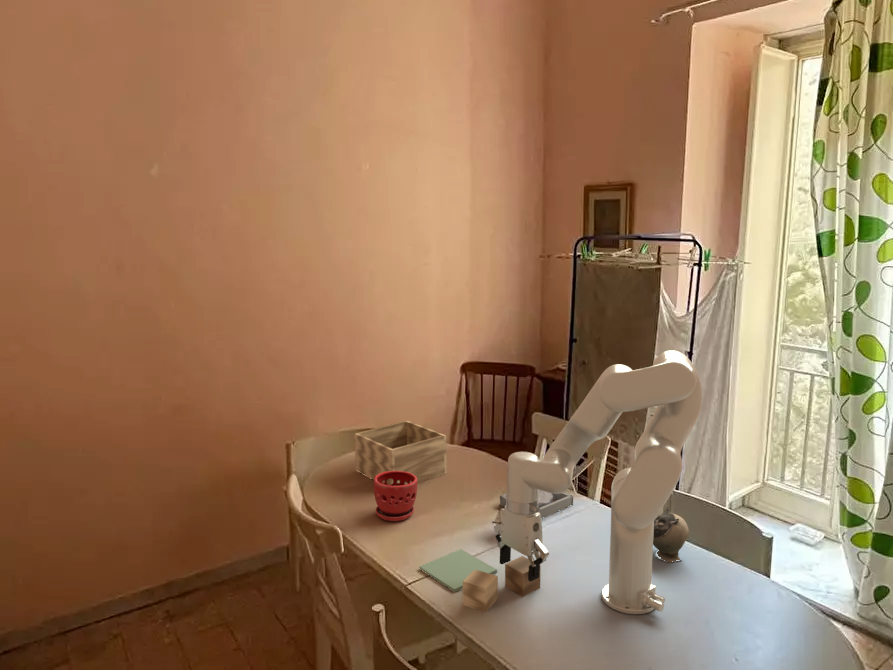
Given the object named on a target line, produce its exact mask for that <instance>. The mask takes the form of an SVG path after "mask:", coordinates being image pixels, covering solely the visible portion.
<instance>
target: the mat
mask: <svg viewBox="0 0 893 670" xmlns="http://www.w3.org/2000/svg"><path fill="white" fill-rule="evenodd" d="M419 568H420V569H421V570H423V571H424V572H426V573H427V574H429V575H430V576H432V577H433V578H435V579H436V580H437V581H436V580H435V579H434V580H435V581H436V582H438V581H439V582H440V583H439V582H438V583H439V584H441V583H442V584H441V585H443V586H444V585H445V587H446V586H447V587H448V589H449V590H450V589H451V590H450V591H452V592H453V591H454V593H456V592H458V590H459V591H460V590H463V589H462V588H463V581H464V580H465V579H466V578H467V577H468V576H469V575H470V574H471V573H472V572H473V571H474V570H478V571H482V572H485V573H489V574H492V575H495V574H497V573H498V569H497V568H495V567H493V566H491V565H490V564H488V563H486V562H484V561H483V560H481V559H479V558H478V557H476V556H474V555H472V554H471V553H469V552H467V551H466V550H463V549H462V548H460V549H457V550H455V551H453V552H451V553H448V554H445V555H443V556H441V557H438V558H436V559H434V560H431V561H429V562H426V563H425V564H422V565H420V566H419ZM420 569H419V570H420ZM421 570H420V571H421ZM423 571H422V572H423ZM424 572H423V573H424ZM426 573H425V574H426ZM427 574H426V575H427ZM429 575H428V576H429ZM430 576H429V577H430ZM432 577H431V578H432ZM433 578H432V579H433ZM447 587H446V588H447Z"/></svg>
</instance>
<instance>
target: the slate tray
mask: <svg viewBox="0 0 893 670" xmlns="http://www.w3.org/2000/svg"><path fill="white" fill-rule="evenodd" d="M506 494H507V492H506V493H504V494H502V495H500V496H499V506H502V507H503V506H504V507H503V508H505V506H506ZM551 494H552V493H551ZM552 495H553V500H555V501H553V502H552V503H550V504H548V505H545V506H543V507H540V511H539V513H540V516H541V518H542V519H544V518H547V517H548V515H549V516H550V514H551V515H553V514H556V513H558V512H560V511H563V510H565V509H567V508H569V507H568V506H570V505H572V506H574V495H572V494H569V493H567V492H564V493H561V494H552ZM566 507H567V508H566ZM570 507H571V506H570ZM564 508H565V509H564ZM562 509H563V510H562ZM559 510H560V511H559ZM557 511H558V512H557ZM555 512H556V513H555ZM543 517H544V518H543Z"/></svg>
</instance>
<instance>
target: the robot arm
mask: <svg viewBox="0 0 893 670" xmlns="http://www.w3.org/2000/svg"><path fill="white" fill-rule="evenodd" d="M702 389H703V388H702V382H701V379H700V375H699V373H698V370H697V369H696V367H695V365H694V364H693V363H692V361H691V360H690V359H689V357H688V356H686V354H684V353H683V352H681V351H680V350H679V351H678V350H673V349H671V350H670V349H669V350H665V351H662V352H661V353H660V354H659V355H658V356H657V357H655V359H654V361H653V364H652V366H648V367H643V368H639V369H634V370H633V369H632V368H631V367H629V366H628V365H625V364H619V363H618V364H617V363H616V364H612V365H610V366H608V367H607V368H606V369H605V370H604V371H602V373H601V375H600V376H599V378H598V379H597V380H596V382H595V383H594V385H593V386H592V387H591V389H590V390H589V392H588V393H587V395H586V396H585V398H584V400H582V402H581V403H580V405H579V406H578V408H577V409H576V410H575V412H574V413H573V415H572V416H571V417H570V418H569V420H568V422H567V423H566V424H565V425H564V427H563V428H562V429H561V431H560V432H559V434H558V435H557V437H555V439H554V441H553V442H552V444H551V445H550V446H549V448H548V449H547V451H546V452H545V454H544V456H543V458H542V461H541V460H540V458H539V456H538V455H536V454H535V453H532V452H528V451H516V452H513V453H511V454H510V455H509V456H508V458H507V470H506V473H507V475H506V478H507V479H506V493H507V494H506V493H505V494H506V506H505V507H503V508H504V512H503V517H502V524H500V525H496V524H495V525H494V526H493V530H494V534H495V538H496V541H497V543H498V544H497V546H498V548H499V564H500V565H505V564H506V563H508V562H511V557H512V554H511V552H512V549H513V550H514V551H516V552H518V553H520V554H521V555H522V556H524V557H526V558H527V559H529V561H530V563H531V565H529V573H528V580H529V581H530V582H531V581H533V580H536V579H538V578H539V574H540V575H541V567H540V565H541V564H543V563H544V562H546V561H547V559H548V557H549V555H550V552H549V550H548V549H547V548H546V547H545V545H543V544H544V543H543V523H542V519H541V516H540V513H539V511H540V508H539V507H538V494H539V490H542V491H545V492H548V493H552V494H561V493H566V491H568V490H569V489H570V487H571V485H572V481H573V474H574V469H575V467H576V465H577V464H578V462H579V461H580V460H581V458H582V457H583V455H584V454H585V453H586V451H587V450H588V448H590V447H591V445H592V444H594V442H596V441H599V440H602V439H604V438H605V437H606V436H607V435H608V434H609V433H610V431H611V430H612V428H613V427H614V425H615V424H616V422H617V420H619V418H620V416H621V415H622V414H623V412H624V413H625V412H633V411H638V410H643V409H648V408H655V407H656V409H655V410H654V412H653V414H652V416H651V419H650V420H649V422H648V423H647V425H646V427H645V429H644V430H643V433H641V436H640V437H639V439H638V440H637V442H636V444H635V447H634V463H633V464H632V466H631V467H625V468H623V469H622V470H620V471H619V472H617V474H616V475H615V476H614V477H613V480H612V482H611V489H610V495H611V497H610V498H611V499H610V502H611V504H610V535H609V536H610V537H609V539H610V540H609V570H608V583H607V584H606V585H604V586H603V587H602V590H601V599H602V601H603V602H604V603H605V605H606V606H608V607H610V608H611V609H613V610H615V611H617V612H620V613H622V614H629V615H643V614H644V615H645V614H648V613H650V612H652V611H654V610H657V611H658V612H660V613H661V612H662V611H663V610H664V608H665V604H664V603H665V601H666V599H665V598H664V597H663V596H661V595H658V594H657V592H656V585H654V584H652V578H653V577H652V575H653V574H652V573H653V556H654V555H653V551H654V550H653V549H654V545H653V538H654V520H655V519H656V518H657V517H658V516H660V515H659V514H660V513H661V511H662V510H663V508H664V507H665V505H666V502H667V501H668V499H669V498H670V496H671V494H672V493H673V491H674V489H675V487H676V486H677V485H678V482H679V480H680V478H681V475H682V471H683V460H682V456H681V453H682V450H683V446H684V445H685V443H686V441H687V440H688V438H689V435H690V434H691V432H692V429H694V428H693V427H694V426H695V424H696V422H697V420H698V417H699V415H700V412H701V410H702V409H701V408H702V404H703V390H702ZM533 555H534V556H533ZM534 557H535V558H534Z"/></svg>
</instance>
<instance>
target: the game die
mask: <svg viewBox="0 0 893 670" xmlns="http://www.w3.org/2000/svg"><path fill="white" fill-rule="evenodd" d="M504 508H505V507H503V508H501V507H499V506H497V509H498V512H497V515H496V517H495V519H494V521H493V520H492V521H491V524H495V526H496V525H500V524H502V517H503V512H504Z"/></svg>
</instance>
